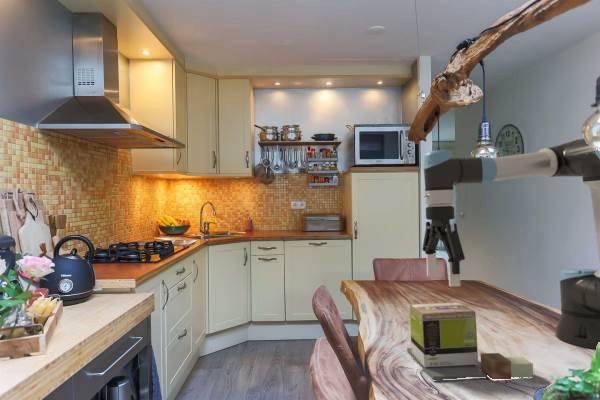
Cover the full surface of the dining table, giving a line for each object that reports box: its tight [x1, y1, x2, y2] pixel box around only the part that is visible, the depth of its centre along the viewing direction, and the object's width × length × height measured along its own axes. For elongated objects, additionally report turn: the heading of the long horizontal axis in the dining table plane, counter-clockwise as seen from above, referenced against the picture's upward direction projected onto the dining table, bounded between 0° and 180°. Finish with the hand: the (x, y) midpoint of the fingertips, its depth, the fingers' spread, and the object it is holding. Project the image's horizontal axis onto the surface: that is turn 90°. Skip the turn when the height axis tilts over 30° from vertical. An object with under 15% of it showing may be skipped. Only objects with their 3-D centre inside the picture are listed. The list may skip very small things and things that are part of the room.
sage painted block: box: [504, 356, 534, 378], centre depth 91 cm, size 6×4×4 cm, turn 91°
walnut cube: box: [480, 352, 511, 379], centre depth 90 cm, size 5×5×5 cm
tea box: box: [409, 301, 479, 367], centre depth 98 cm, size 15×10×15 cm
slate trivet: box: [406, 347, 487, 381], centre depth 98 cm, size 14×18×1 cm
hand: (442, 280), depth 98 cm, fingers open, 13 cm apart
